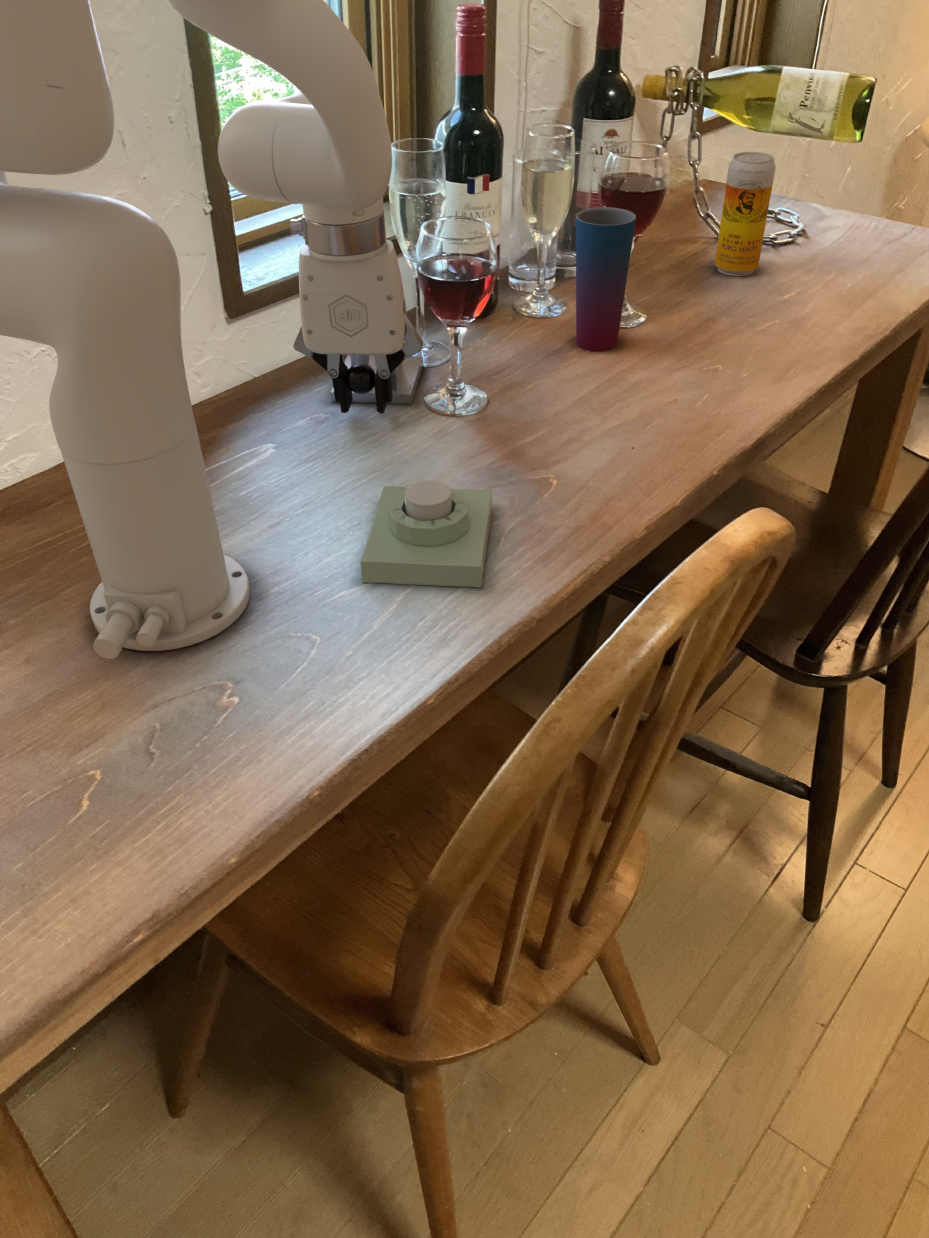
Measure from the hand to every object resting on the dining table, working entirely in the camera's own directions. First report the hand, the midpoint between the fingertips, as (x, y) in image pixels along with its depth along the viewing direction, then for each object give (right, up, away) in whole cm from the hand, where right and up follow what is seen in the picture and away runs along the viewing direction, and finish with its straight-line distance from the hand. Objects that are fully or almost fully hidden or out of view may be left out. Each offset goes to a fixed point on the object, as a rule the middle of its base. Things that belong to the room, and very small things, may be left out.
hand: (364, 405), depth 103 cm
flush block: (+8, -16, -18) cm, 25 cm away
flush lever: (0, +7, +1) cm, 7 cm away
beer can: (+50, +27, +35) cm, 66 cm away
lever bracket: (+1, +4, +8) cm, 9 cm away
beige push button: (+8, -13, -20) cm, 25 cm away
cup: (+27, +11, +16) cm, 33 cm away
